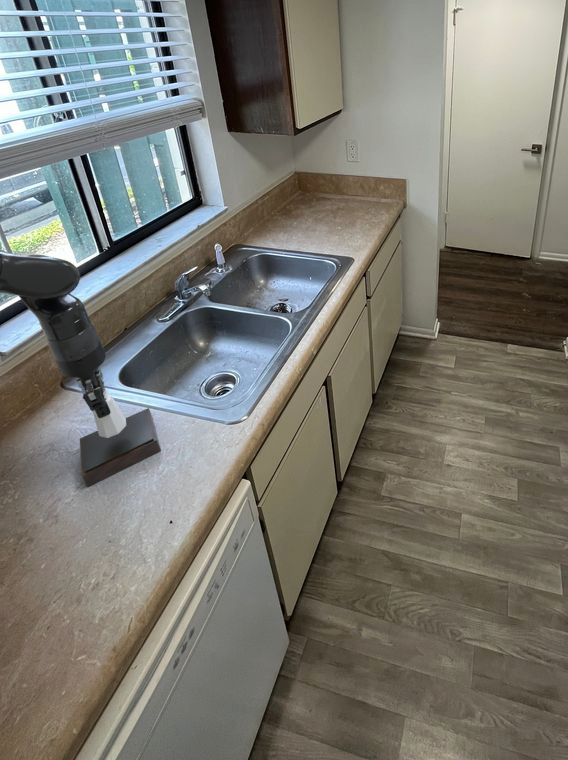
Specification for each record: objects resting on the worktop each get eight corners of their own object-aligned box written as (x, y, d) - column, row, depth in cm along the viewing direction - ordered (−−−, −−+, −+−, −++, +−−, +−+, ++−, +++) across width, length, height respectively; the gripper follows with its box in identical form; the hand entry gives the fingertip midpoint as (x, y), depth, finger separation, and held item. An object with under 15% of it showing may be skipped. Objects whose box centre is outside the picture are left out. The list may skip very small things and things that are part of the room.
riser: (87, 487, 91) (81, 475, 90) (84, 449, 99) (78, 437, 98) (161, 451, 99) (156, 439, 97) (152, 418, 107) (148, 406, 105)
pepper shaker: (93, 440, 93) (76, 403, 88) (105, 418, 98) (89, 383, 93) (121, 436, 94) (105, 400, 89) (131, 415, 98) (116, 380, 94)
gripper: (52, 334, 89) (81, 395, 96) (53, 377, 78) (84, 441, 86) (96, 320, 92) (120, 379, 100) (102, 359, 82) (128, 422, 90)
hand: (103, 408), depth 93 cm, fingers closed on pepper shaker, 3 cm apart
